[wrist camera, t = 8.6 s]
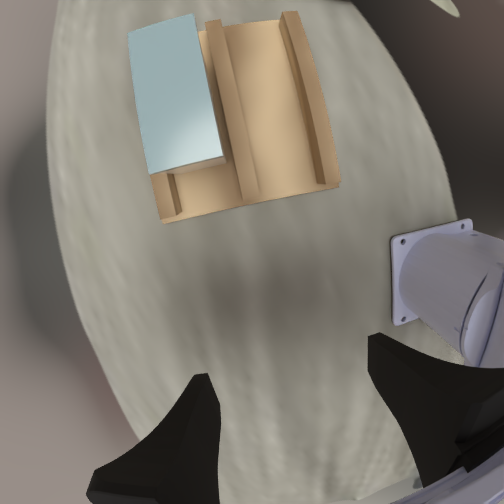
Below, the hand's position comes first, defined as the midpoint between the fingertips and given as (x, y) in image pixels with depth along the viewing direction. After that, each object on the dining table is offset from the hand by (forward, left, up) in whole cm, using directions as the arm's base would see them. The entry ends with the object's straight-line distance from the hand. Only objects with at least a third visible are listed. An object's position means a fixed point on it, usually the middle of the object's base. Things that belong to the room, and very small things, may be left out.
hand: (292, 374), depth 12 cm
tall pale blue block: (+2, -13, -9) cm, 16 cm away
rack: (0, -13, -10) cm, 16 cm away
